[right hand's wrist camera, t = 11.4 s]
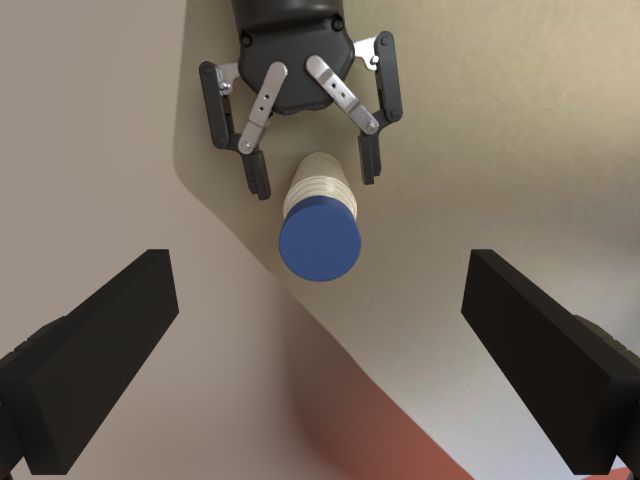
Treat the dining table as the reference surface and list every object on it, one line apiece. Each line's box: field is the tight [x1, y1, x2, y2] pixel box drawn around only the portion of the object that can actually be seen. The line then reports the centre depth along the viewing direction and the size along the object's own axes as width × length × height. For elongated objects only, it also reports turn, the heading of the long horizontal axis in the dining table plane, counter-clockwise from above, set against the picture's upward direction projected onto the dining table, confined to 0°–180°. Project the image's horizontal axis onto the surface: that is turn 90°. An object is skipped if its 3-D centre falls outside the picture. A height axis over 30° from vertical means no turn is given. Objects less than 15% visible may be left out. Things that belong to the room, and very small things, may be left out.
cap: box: [279, 195, 361, 282], centre depth 18 cm, size 4×4×2 cm
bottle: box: [283, 152, 357, 221], centre depth 26 cm, size 5×5×18 cm
